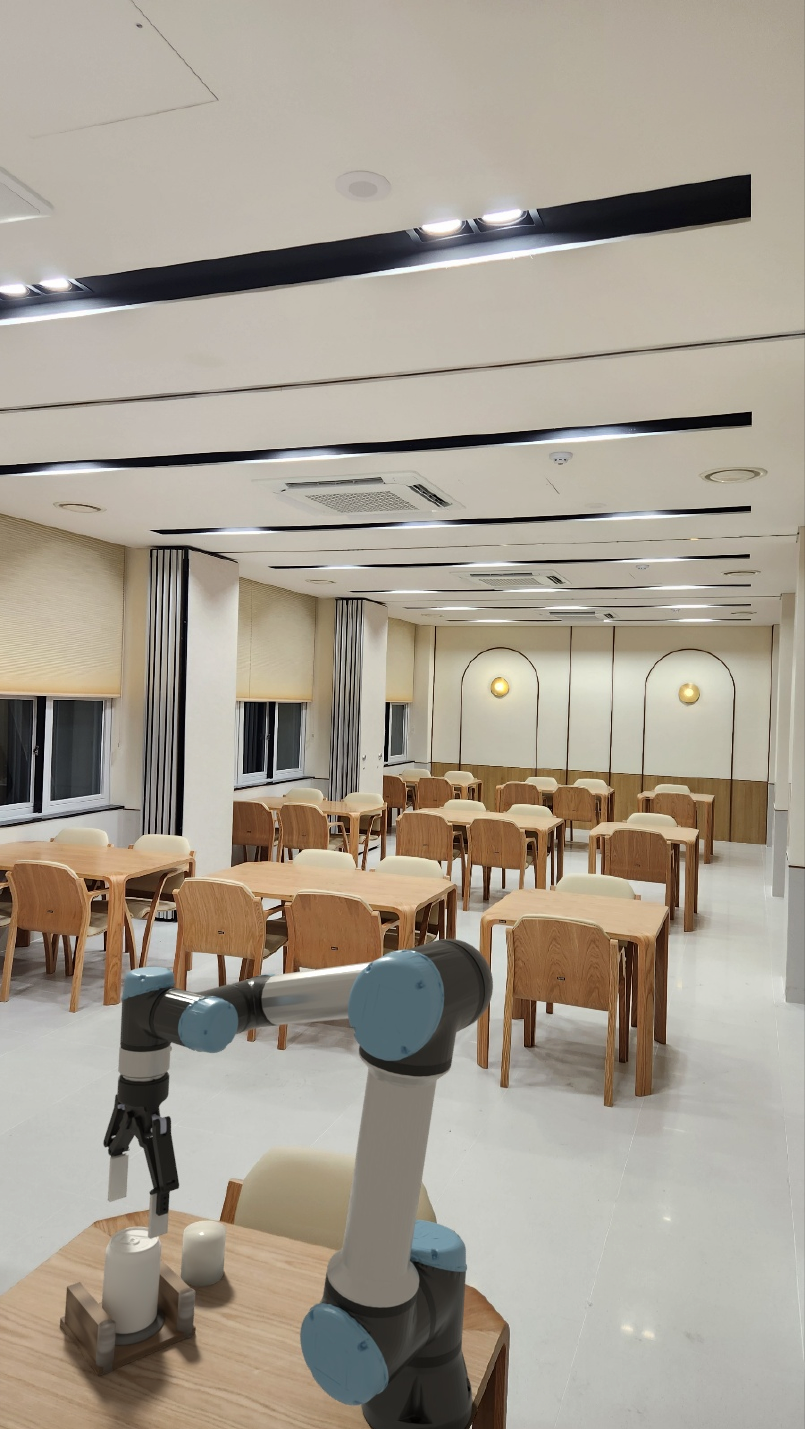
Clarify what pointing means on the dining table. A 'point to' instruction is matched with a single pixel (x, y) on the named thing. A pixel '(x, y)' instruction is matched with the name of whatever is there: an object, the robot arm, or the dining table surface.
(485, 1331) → the dining table surface
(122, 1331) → the beverage can
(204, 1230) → the white pillar candle
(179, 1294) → the wooden holder
